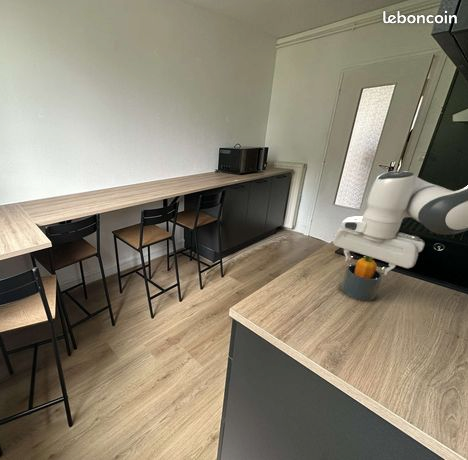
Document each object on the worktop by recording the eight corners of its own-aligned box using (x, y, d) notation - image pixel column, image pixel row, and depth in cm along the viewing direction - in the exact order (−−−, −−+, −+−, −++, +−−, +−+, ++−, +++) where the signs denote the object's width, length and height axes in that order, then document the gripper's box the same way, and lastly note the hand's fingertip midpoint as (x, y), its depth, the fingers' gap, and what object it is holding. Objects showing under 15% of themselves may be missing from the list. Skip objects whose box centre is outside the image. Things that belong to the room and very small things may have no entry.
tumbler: (378, 293, 82) (386, 272, 79) (368, 304, 78) (376, 283, 74) (347, 281, 89) (353, 261, 86) (336, 291, 84) (342, 270, 81)
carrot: (368, 289, 83) (381, 249, 77) (367, 296, 80) (381, 255, 74) (349, 283, 86) (361, 245, 80) (348, 291, 83) (360, 251, 77)
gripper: (430, 235, 68) (411, 278, 73) (344, 216, 83) (334, 252, 89) (424, 242, 64) (405, 286, 70) (336, 220, 80) (326, 258, 85)
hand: (365, 267), depth 79 cm, fingers open, 8 cm apart
